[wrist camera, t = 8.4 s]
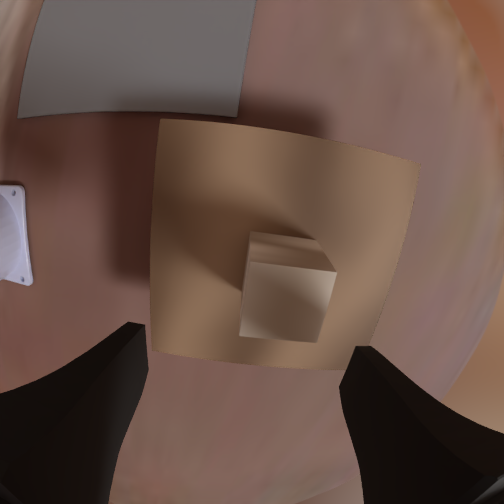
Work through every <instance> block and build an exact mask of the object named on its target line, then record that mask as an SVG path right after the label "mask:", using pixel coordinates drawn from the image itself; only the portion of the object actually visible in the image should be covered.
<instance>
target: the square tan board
mask: <svg viewBox="0 0 504 504" xmlns="http://www.w3.org/2000/svg"><path fill="white" fill-rule="evenodd" d="M420 167H421V164H419V163H416V162H413V161H409V160H406V159H403V158H399V157H396V156H392V155H389V154H385V153H381V152H378V151H374V150H370V149H366V148H362V147H358V146H354V145H350V144H346V143H341V142H337V141H332V140H327V139H323V138H318V137H313V136H307V135H302V134H297V133H291V132H285V131H279V130H273V129H266V128H259V127H252V126H244V125H236V124H227V123H217V122H207V121H194V120H180V119H160V124H159V132H158V140H157V149H156V159H155V170H154V182H153V196H152V213H151V237H150V317H151V341H152V351H158V352H163V353H169V354H175V355H181V356H187V357H193V358H200V359H207V360H214V361H222V362H230V363H239V364H248V365H259V366H270V367H283V368H299V369H321V370H346V369H347V367H348V364H349V362H350V359H351V357H352V354H353V351H354V349H355V346H369V343H370V341H371V338H372V336H373V333H374V331H375V328H376V326H377V323H378V320H379V318H380V315H381V312H382V309H383V306H384V304H385V301H386V298H387V295H388V292H389V289H390V286H391V283H392V280H393V277H394V273H395V270H396V267H397V264H398V260H399V257H400V253H401V250H402V246H403V243H404V239H405V235H406V231H407V227H408V223H409V219H410V215H411V211H412V207H413V202H414V198H415V193H416V188H417V183H418V178H419V173H420Z"/></svg>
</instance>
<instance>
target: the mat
mask: <svg viewBox="0 0 504 504" xmlns="http://www.w3.org/2000/svg"><path fill="white" fill-rule="evenodd" d="M255 5H256V0H44V3H43V6H42V8H41V11H40V14H39V17H38V21H37V24H36V27H35V31H34V34H33V38H32V41H31V45H30V49H29V53H28V57H27V62H26V67H25V71H24V77H23V82H22V88H21V94H20V101H19V108H18V116H17V119H22V118H29V117H38V116H47V115H57V114H70V113H86V112H118V111H140V112H172V113H190V114H203V115H215V116H225V117H234V118H237V114H238V107H239V101H240V94H241V88H242V81H243V75H244V69H245V63H246V56H247V50H248V45H249V39H250V33H251V27H252V22H253V16H254V10H255Z"/></svg>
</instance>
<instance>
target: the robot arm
mask: <svg viewBox="0 0 504 504" xmlns="http://www.w3.org/2000/svg"><path fill="white" fill-rule="evenodd" d="M15 192H16V194H15ZM2 279H6V280H9V281H13V282H16V283H20V284H24V285H27V286H29V285H31V284H32V283H33V277H32V271H31V264H30V256H29V248H28V238H27V227H26V211H25V190H24V188H23V186H21V185H0V281H1V280H2ZM148 370H149V369H148V358H147V346H146V333H145V325H144V324H138V323H132V322H127V323H126V324H124V325H123V326H121V327H120V328H119V329H117V330H116V331H115V332H113V333H112V334H111V335H109V336H108V337H107V338H105V339H104V340H102V341H101V342H100V343H98V344H97V345H95V346H94V347H93V348H91V349H90V350H88V351H87V352H85V353H84V354H82V355H81V356H79V357H78V358H76V359H74V360H73V361H71V362H70V363H68V364H67V365H65V366H63V367H62V368H60V369H58V370H56V371H54V372H52V373H50V374H48V375H46V376H44V377H42V378H40V379H38V380H36V381H34V382H31V383H29V384H26V385H23V386H21V387H18V388H16V389H13V390H10V391H7V392H4V393H0V504H108V501H109V495H110V490H111V485H112V480H113V475H114V471H115V466H116V462H117V458H118V454H119V451H120V448H121V445H122V442H123V439H124V437H125V434H126V432H127V429H128V427H129V424H130V422H131V420H132V417H133V415H134V412H135V410H136V407H137V405H138V403H139V400H140V398H141V395H142V392H143V389H144V385H145V381H146V377H147V374H148ZM339 390H340V397H341V404H342V409H343V413H344V417H345V420H346V423H347V427H348V430H349V433H350V437H351V440H352V443H353V446H354V450H355V453H356V456H357V460H358V464H359V468H360V475H361V481H362V488H363V498H364V504H504V434H503V433H500V432H498V431H495V430H492V429H489V428H487V427H484V426H482V425H479V424H477V423H476V422H474V421H472V420H470V419H468V418H465V417H464V416H462V415H460V414H458V413H456V412H455V411H453V410H451V409H450V408H448V407H447V406H445V405H444V404H442V403H441V402H439V401H438V400H436V399H435V398H433V397H432V396H431V395H429V394H428V393H427V392H425V391H424V390H423V389H422V388H420V387H419V386H418V385H417V384H415V383H414V382H413V381H412V380H411V379H409V378H408V377H407V376H406V375H405V374H403V373H402V372H401V371H400V370H399V369H398V368H397V367H395V366H394V365H393V364H392V363H391V362H390V361H389V360H387V359H386V358H385V357H384V356H383V355H382V354H380V353H379V352H378V351H377V350H376V349H374V348H373V347H371V346H355V349H354V351H353V354H352V357H351V359H350V362H349V364H348V367H347V369H346V372H345V374H344V376H343V379H342V381H341V383H340V386H339Z"/></svg>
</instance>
